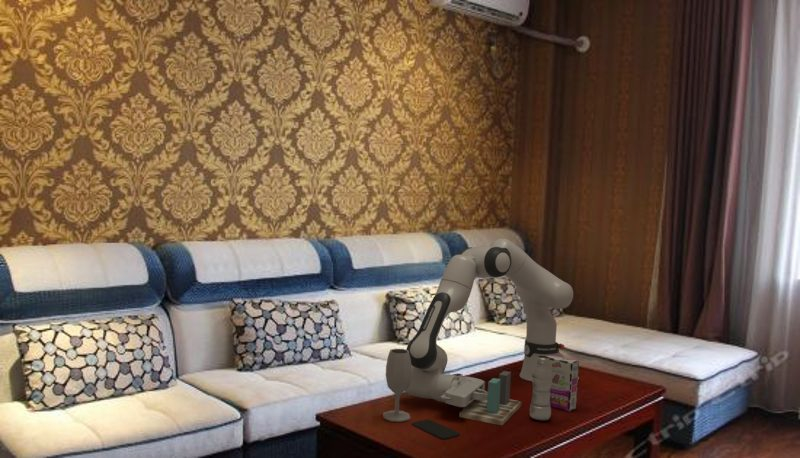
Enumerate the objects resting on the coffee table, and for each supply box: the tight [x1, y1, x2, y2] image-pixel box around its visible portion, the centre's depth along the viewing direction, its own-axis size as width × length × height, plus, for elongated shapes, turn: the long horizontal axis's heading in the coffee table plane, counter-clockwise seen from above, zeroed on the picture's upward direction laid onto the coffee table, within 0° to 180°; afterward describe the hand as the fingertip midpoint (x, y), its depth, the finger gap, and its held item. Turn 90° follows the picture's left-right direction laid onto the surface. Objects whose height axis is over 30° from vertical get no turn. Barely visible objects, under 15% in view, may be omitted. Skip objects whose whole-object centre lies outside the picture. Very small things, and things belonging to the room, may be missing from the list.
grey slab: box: [498, 370, 512, 405], centre depth 229 cm, size 2×5×10 cm, turn 155°
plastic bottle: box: [529, 356, 553, 422], centre depth 220 cm, size 6×7×20 cm
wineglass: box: [382, 348, 412, 423], centre depth 215 cm, size 9×9×21 cm
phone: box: [410, 418, 461, 441], centre depth 208 cm, size 7×1×15 cm
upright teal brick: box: [487, 377, 501, 414], centre depth 220 cm, size 2×5×10 cm, turn 155°
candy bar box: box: [547, 355, 580, 413], centre depth 234 cm, size 11×5×16 cm, turn 47°
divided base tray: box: [458, 398, 522, 426], centre depth 226 cm, size 14×21×2 cm, turn 155°
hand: (489, 396), depth 221 cm, fingers closed
